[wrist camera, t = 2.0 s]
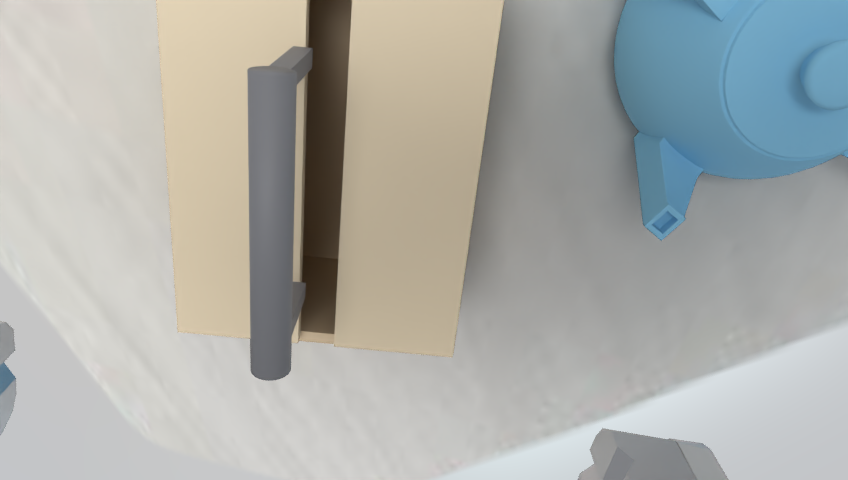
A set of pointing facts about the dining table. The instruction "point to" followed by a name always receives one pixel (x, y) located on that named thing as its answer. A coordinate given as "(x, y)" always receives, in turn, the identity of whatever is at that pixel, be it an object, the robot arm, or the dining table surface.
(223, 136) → the far flap
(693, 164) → the teapot
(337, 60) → the carton
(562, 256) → the dining table surface
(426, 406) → the dining table surface
